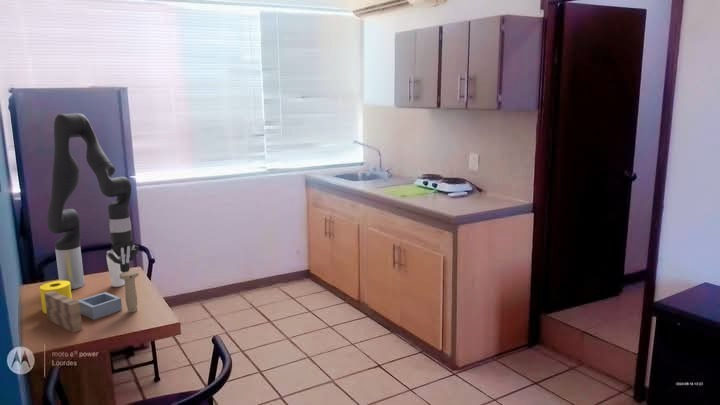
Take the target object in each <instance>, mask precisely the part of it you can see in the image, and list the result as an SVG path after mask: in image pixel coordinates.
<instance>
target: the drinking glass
mask: <svg viewBox="0 0 720 405" xmlns="http://www.w3.org/2000/svg"><path fill="white" fill-rule="evenodd" d="M109 251H110V250H107V252H109ZM105 255H106V254H105ZM114 256H115V257H116V258H117V255H116V254H115V253H114ZM117 259H118V258H117ZM106 264H107V268H108V273H109V278H110V285H111V287H112V288H119V287H123V286H125V280H123V279H121V278H120V274H121V273H122V272H121V270H120V264H117V263H115V262H113V261H112V260H111V259H110V258H109V257H108V256H107V255H106Z"/></svg>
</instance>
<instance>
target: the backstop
mask: <svg viewBox="0 0 720 405" xmlns="http://www.w3.org/2000/svg"><path fill="white" fill-rule="evenodd" d="M44 295H45V302H46V310H47V313H46V316H47V320H49V322H50V321H51V322H52V323H54V324H56V325H58V326H59V327H62V328H64V329H66V330H67V331H70V332H72V333H73V334H74V333H76V332H80V331H82V330H83V322H82V316H81V315H82V314H81V313H80V305H79V302H77V301H78V300H75V299H73V298H72V299H70V298H68V297H66V296H64V295H61V294H59V293H57V292H55V291H51V292H47V293H44Z"/></svg>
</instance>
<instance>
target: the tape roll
mask: <svg viewBox="0 0 720 405" xmlns="http://www.w3.org/2000/svg"><path fill="white" fill-rule="evenodd" d="M51 291H55V292H57V293H59V294H61V295H64V296H66V297H68V298H70V299H73V296H72V289H71V286H70V282H69V281H59V280H54V281H50V282H46V283H43V284H41V285H40V286H39V293H40V300H41V301H40V302H41V308H42V312H43V313H44V314H47V310H46V302H45V295H44V293H47V292H51Z"/></svg>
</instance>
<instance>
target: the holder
mask: <svg viewBox="0 0 720 405" xmlns="http://www.w3.org/2000/svg"><path fill="white" fill-rule="evenodd" d="M76 301H77V302H79V305H80V313H81V315H82V316H85V317H87V318H89V319H91V320H97V319H100V318H102V317H105V316H109V315H111V314H114V313H117V312H120V311H122V310H123V306H122V297H120V296H116V295H114V294H112V293H109V292H106V291H105V292H102V293H98V294H95V295H90V296H88V297H86V298H82V299H79V300H76Z"/></svg>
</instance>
